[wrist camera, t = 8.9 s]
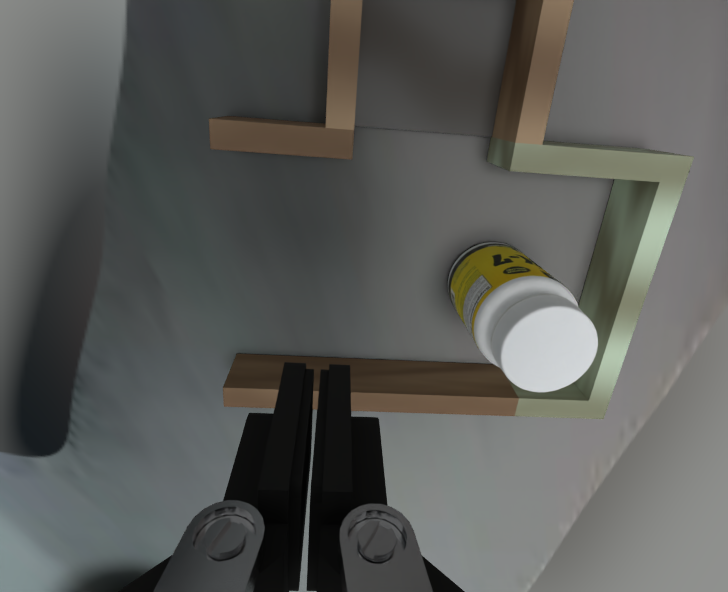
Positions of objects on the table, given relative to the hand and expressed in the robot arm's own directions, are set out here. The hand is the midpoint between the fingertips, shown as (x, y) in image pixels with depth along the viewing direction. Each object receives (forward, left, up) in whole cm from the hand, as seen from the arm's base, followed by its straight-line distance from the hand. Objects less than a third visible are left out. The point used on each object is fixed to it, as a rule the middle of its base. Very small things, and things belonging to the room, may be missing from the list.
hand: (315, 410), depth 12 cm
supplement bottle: (+1, +9, -14) cm, 17 cm away
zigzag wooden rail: (-3, +5, -14) cm, 15 cm away
